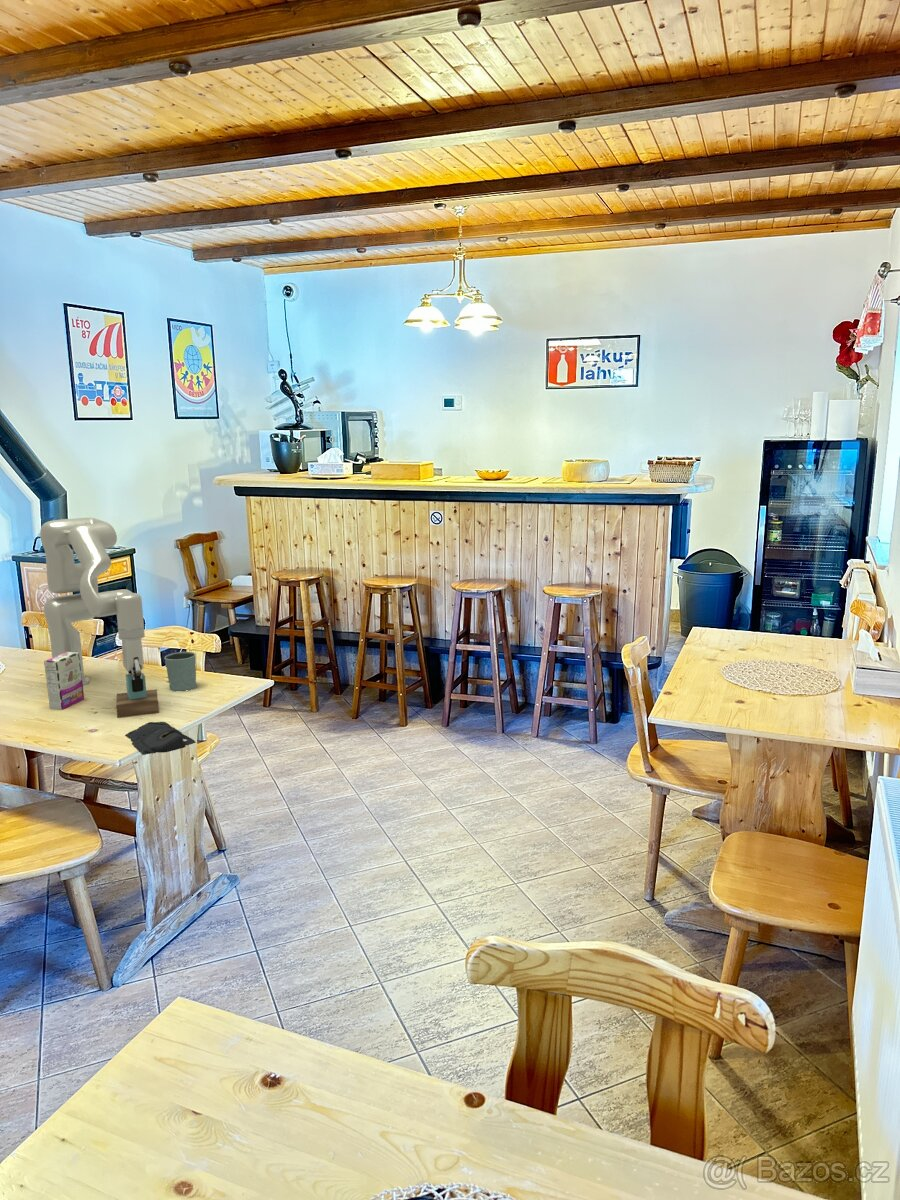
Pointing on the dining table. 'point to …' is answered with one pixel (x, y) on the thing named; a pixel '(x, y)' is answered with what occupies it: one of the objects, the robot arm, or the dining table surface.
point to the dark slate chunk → (158, 738)
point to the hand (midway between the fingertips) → (136, 687)
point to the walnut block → (137, 704)
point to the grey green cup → (181, 670)
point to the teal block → (130, 693)
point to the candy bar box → (64, 680)
